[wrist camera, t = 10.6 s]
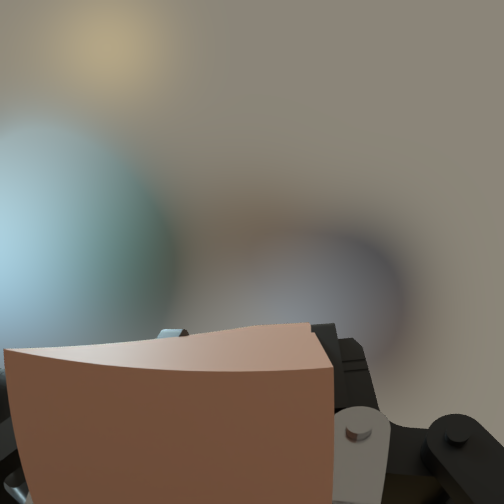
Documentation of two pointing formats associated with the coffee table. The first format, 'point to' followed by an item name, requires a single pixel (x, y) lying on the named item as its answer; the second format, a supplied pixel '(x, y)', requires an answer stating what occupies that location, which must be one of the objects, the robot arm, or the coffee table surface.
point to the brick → (177, 419)
